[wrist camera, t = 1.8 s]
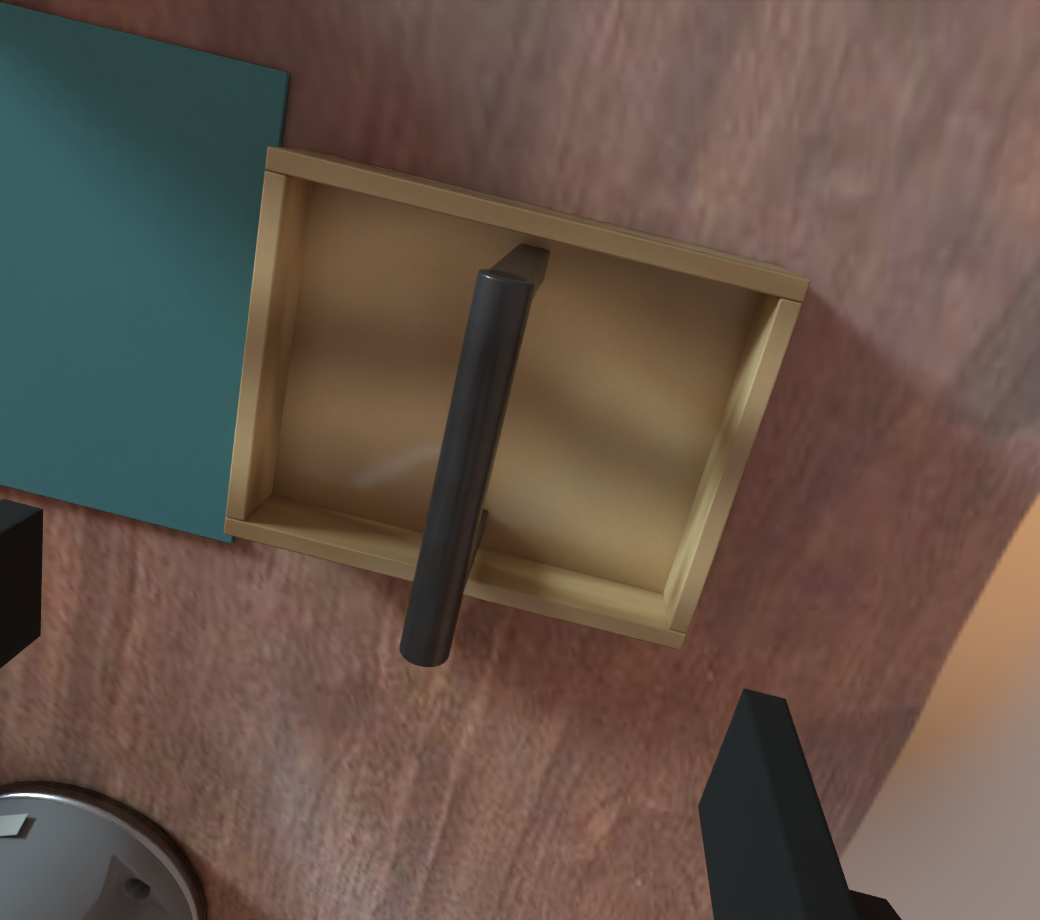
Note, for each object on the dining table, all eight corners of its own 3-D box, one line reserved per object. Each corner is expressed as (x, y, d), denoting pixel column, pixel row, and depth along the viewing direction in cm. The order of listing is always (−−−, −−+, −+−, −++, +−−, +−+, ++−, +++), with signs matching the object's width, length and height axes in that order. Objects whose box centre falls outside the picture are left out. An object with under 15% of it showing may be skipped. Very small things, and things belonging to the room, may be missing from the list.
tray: (673, 602, 36) (702, 778, 26) (261, 497, 37) (122, 629, 26) (787, 267, 31) (880, 315, 21) (306, 148, 32) (156, 136, 21)
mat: (234, 541, 38) (231, 544, 37) (-204, 429, 38) (-210, 431, 38) (290, 73, 31) (287, 72, 30) (-245, -59, 31) (-253, -61, 31)
